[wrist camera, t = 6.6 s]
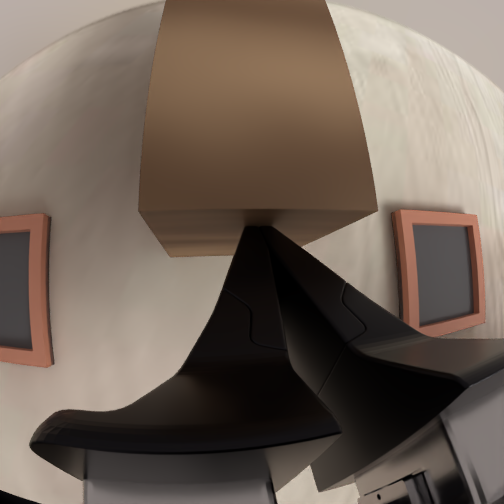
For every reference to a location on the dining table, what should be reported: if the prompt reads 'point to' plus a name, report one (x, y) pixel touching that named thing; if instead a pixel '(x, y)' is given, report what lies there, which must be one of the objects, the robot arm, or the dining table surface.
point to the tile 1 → (25, 290)
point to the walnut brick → (250, 127)
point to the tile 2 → (439, 271)
